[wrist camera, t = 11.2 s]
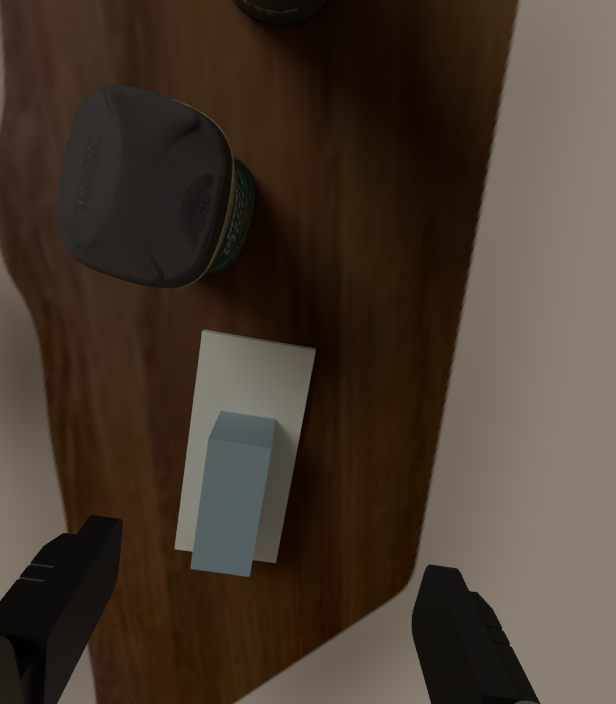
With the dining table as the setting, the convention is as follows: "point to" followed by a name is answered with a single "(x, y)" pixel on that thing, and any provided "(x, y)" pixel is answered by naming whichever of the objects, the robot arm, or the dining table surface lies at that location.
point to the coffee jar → (151, 190)
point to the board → (251, 399)
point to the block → (232, 493)
